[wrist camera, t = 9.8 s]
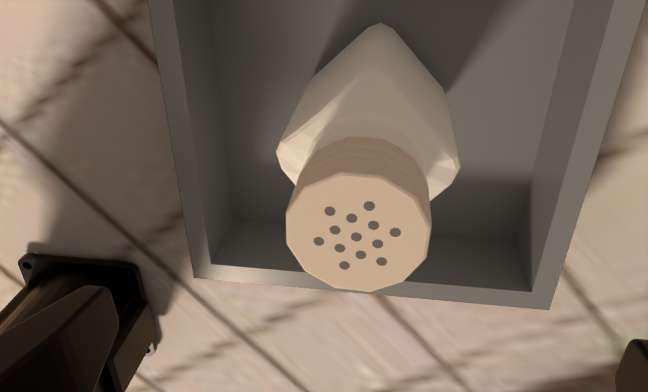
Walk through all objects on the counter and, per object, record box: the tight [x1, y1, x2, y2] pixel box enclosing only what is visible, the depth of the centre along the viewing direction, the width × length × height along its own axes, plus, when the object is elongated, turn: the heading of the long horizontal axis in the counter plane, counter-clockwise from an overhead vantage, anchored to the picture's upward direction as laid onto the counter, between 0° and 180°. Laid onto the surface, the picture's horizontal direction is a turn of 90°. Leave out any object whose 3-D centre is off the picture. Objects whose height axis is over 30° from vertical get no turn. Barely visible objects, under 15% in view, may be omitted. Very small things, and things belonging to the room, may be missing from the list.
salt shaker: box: [276, 23, 461, 292], centre depth 15 cm, size 4×4×10 cm
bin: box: [147, 0, 646, 310], centre depth 18 cm, size 14×14×4 cm
